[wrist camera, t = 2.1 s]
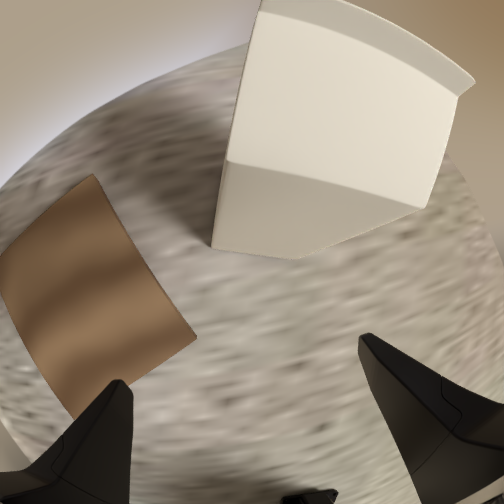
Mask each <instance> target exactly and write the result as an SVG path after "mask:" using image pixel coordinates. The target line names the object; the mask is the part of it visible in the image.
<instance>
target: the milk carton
mask: <svg viewBox="0 0 504 504" xmlns="http://www.w3.org/2000/svg"><path fill="white" fill-rule="evenodd" d="M475 83H476V82H475V80H474V78H473V77H472V76H471V75H470V74H468V73H467V72H466V71H465V70H463V69H462V68H461V67H460V66H458V65H457V64H456V63H455V62H453V61H452V60H451V59H449V58H448V57H446V56H445V55H444V54H442V53H441V52H440V51H438V50H437V49H435V48H433V47H432V46H431V45H429V44H428V43H426V42H425V41H423V40H421V39H420V38H418V37H417V36H415V35H413V34H411V33H410V32H408V31H406V30H405V29H403V28H401V27H399V26H397V25H396V24H394V23H392V22H390V21H388V20H386V19H384V18H382V17H380V16H378V15H376V14H374V13H372V12H369V11H367V10H365V9H362V8H360V7H358V6H356V5H353V4H351V3H348V2H345V1H343V0H261V3H260V6H259V10H258V13H257V16H256V19H255V23H254V26H253V30H252V34H251V38H250V42H249V46H248V50H247V54H246V58H245V62H244V67H243V71H242V76H241V80H240V85H239V89H238V94H237V98H236V103H235V108H234V113H233V118H232V123H231V128H230V133H229V138H228V143H227V148H226V154H225V159H224V165H223V170H222V176H221V182H220V188H219V195H218V201H217V207H216V214H215V221H214V228H213V235H212V242H211V248H213V249H217V250H224V251H232V252H239V253H246V254H254V255H261V256H268V257H276V258H283V259H291V260H296V259H299V258H301V257H304V256H306V255H309V254H312V253H314V252H317V251H319V250H322V249H324V248H327V247H330V246H332V245H335V244H337V243H340V242H342V241H345V240H347V239H350V238H352V237H355V236H357V235H360V234H362V233H365V232H367V231H370V230H372V229H375V228H377V227H380V226H382V225H384V224H387V223H389V222H392V221H394V220H397V219H399V218H401V217H404V216H406V215H409V214H411V213H413V212H416V211H418V210H421V209H423V208H425V206H426V204H427V201H428V199H429V196H430V194H431V191H432V188H433V185H434V183H435V180H436V177H437V174H438V171H439V168H440V165H441V162H442V159H443V155H444V152H445V149H446V145H447V142H448V138H449V134H450V131H451V126H452V123H453V119H454V114H455V110H456V105H457V100H458V97H459V96H460V95H461V94H462V93H463V92H465V91H466V90H467V89H469V88H470V87H471V86H472V85H474V84H475Z"/></svg>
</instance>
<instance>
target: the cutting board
mask: <svg viewBox="0 0 504 504" xmlns="http://www.w3.org/2000/svg"><path fill="white" fill-rule="evenodd" d="M0 292H1V295H2V297H3V300H4V302H5V305H6V307H7V309H8V312H9V314H10V316H11V318H12V321H13V323H14V325H15V327H16V329H17V331H18V333H19V335H20V337H21V339H22V341H23V343H24V345H25V347H26V348H27V350H28V352H29V354H30V356H31V357H32V359H33V361H34V363H35V364H36V366H37V368H38V369H39V371H40V372H41V374H42V376H43V377H44V379H45V380H46V382H47V383H48V385H49V386H50V388H51V389H52V391H53V392H54V394H55V395H56V396H57V398H58V399H59V401H60V402H61V403H62V405H63V406H64V407H65V409H66V410H67V411H68V413H69V414H70V415H71V416H72V418H73V419H74V420H75V419H76V418H78V416H79V415H80V414H81V413H82V412H83V411H84V410H85V409H86V408H87V407H88V406H89V405H90V403H91V402H92V401H93V400H94V399H95V398H96V397H97V396H98V395H99V394H100V393H101V392H102V391H103V390H104V388H105V387H106V386H107V385H108V384H109V383H110V382H111V381H112V380H114V379H122V380H123V381H124V382H125V383H126V384H127V386H129V385H130V384H132V383H133V382H135V381H136V380H138V379H139V378H141V377H142V376H144V375H145V374H147V373H148V372H150V371H151V370H153V369H154V368H156V367H157V366H158V365H160V364H161V363H163V362H164V361H166V360H167V359H169V358H170V357H172V356H173V355H175V354H176V353H177V352H179V351H180V350H182V349H183V348H185V347H186V346H187V345H189V344H190V343H192V342H193V341H195V340H196V339H197V335H196V334H195V333H194V331H193V330H192V329H191V327H190V326H189V325H188V323H187V322H186V321H185V319H184V318H183V317H182V315H181V314H180V312H179V311H178V310H177V308H176V307H175V305H174V304H173V303H172V301H171V300H170V298H169V297H168V295H167V294H166V293H165V291H164V290H163V288H162V287H161V285H160V284H159V282H158V281H157V279H156V278H155V276H154V275H153V273H152V272H151V270H150V269H149V267H148V265H147V264H146V262H145V261H144V259H143V258H142V256H141V254H140V253H139V251H138V250H137V248H136V246H135V245H134V243H133V242H132V240H131V238H130V237H129V235H128V233H127V232H126V230H125V228H124V226H123V225H122V223H121V221H120V220H119V218H118V216H117V214H116V212H115V211H114V209H113V207H112V205H111V204H110V202H109V200H108V198H107V196H106V194H105V192H104V191H103V189H102V187H101V185H100V183H99V181H98V180H97V178H96V177H95V176H94V175H93V174H91V175H90V176H89V177H87V178H86V179H85V180H83V181H82V182H81V183H79V184H78V185H77V186H75V187H74V188H73V189H72V190H70V191H69V192H68V193H67V194H65V195H64V196H63V197H62V198H61V199H59V200H58V201H57V202H56V203H55V204H53V205H52V206H51V207H50V208H49V209H48V210H46V211H45V212H44V213H43V214H42V215H41V216H40V217H39V218H38V219H36V220H35V221H34V222H33V223H32V224H31V225H30V226H29V227H28V228H27V229H26V230H25V231H24V232H23V233H22V234H21V235H20V236H19V237H18V238H17V239H16V240H15V241H14V242H13V243H12V244H11V245H10V246H9V247H8V248H7V249H6V250H5V251H4V252H3V253H2V255H1V256H0Z"/></svg>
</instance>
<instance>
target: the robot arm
mask: <svg viewBox="0 0 504 504" xmlns="http://www.w3.org/2000/svg"><path fill="white" fill-rule="evenodd" d="M358 355H359V358H360V361H361V364H362V367H363V369H364V372H365V375H366V378H367V381H368V384H369V386H370V389H371V392H372V394H373V396H374V398H375V400H376V402H377V404H378V406H379V408H380V410H381V412H382V414H383V417H384V419H385V421H386V423H387V425H388V427H389V429H390V431H391V434H392V436H393V438H394V440H395V442H396V445H397V447H398V449H399V451H400V453H401V456H402V458H403V460H404V462H405V465H406V467H407V469H408V472H409V474H410V475H411V479H412V481H413V484H414V486H415V488H416V491H417V493H418V496H419V498H420V501H421V503H422V504H504V404H502V403H498V402H495V401H492V400H490V399H488V398H485V397H483V396H481V395H478V394H476V393H474V392H471V391H469V390H467V389H465V388H463V387H461V386H459V385H457V384H455V383H454V382H452V381H450V380H448V379H447V378H445V377H443V376H442V377H441V375H440V374H438V373H436V372H435V371H433V370H431V369H430V368H428V367H426V366H425V365H423V364H422V363H420V362H418V361H417V360H415V359H413V358H412V357H410V356H408V355H407V354H405V353H403V352H402V351H400V350H398V349H397V348H395V347H393V346H392V345H390V344H388V343H387V342H385V341H383V340H382V339H380V338H379V337H377V336H375V335H374V334H372V333H366V334H363V335H360V336H359V342H358ZM132 438H133V393H132V391H131V389H130V388H129V387H128V386H127V384H126V383H125V382H124V381H123V380H122V379H114V380H112V381H111V382H110V383H109V384H108V385H107V386H106V387H105V388H104V390H103V391H102V392H101V393H100V394H99V395H98V396H97V397H96V398H95V399H94V400H93V401H92V402H91V403H90V405H89V406H88V407H87V408H86V409H85V410H84V411H83V412H82V413H81V414H80V415H79V416H78V418H77V419H76V420H75V421H74V422H73V423H72V424H71V425H70V426H69V427H68V428H67V430H66V431H65V432H64V433H63V435H61V436H60V437H59V438H58V439H57V440H56V442H55V443H54V444H53V445H52V446H51V447H50V448H49V449H48V450H47V451H45V452H44V453H43V454H42V455H41V456H40V457H39V458H38V459H37V460H36V461H35V462H33V463H32V464H31V465H30V466H29V467H27V468H26V469H24V470H20V471H11V472H0V504H129V490H130V465H131V450H132ZM337 495H338V491H337V490H330V491H324V492H318V493H311V494H303V495H294V496H285V497H283V498H282V500H281V503H280V504H334V502H335V500H336V497H337ZM285 500H286V501H285Z"/></svg>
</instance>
